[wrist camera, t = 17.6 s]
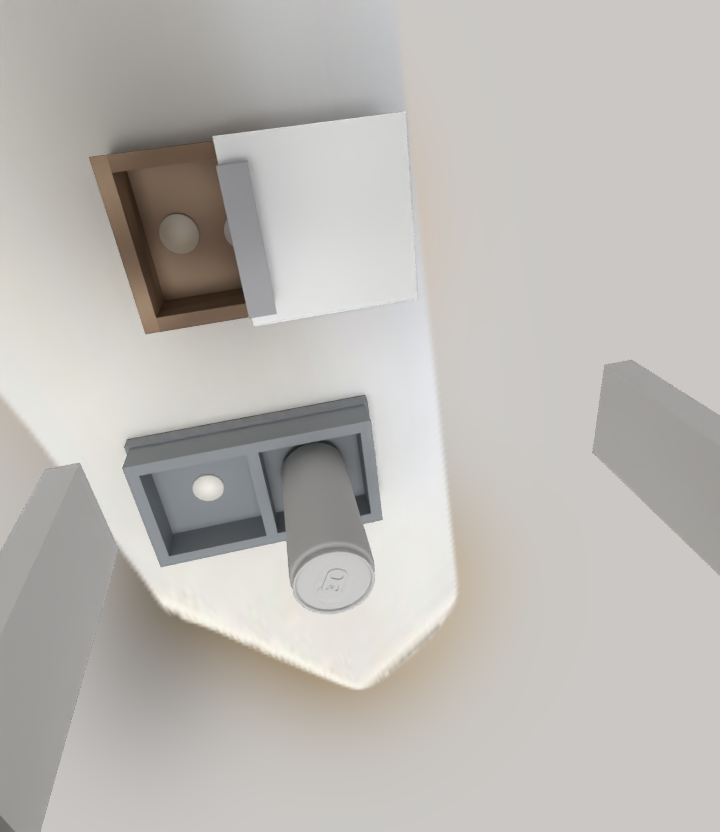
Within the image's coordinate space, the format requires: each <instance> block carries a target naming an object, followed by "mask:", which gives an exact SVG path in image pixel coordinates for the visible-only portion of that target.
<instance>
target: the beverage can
mask: <svg viewBox="0 0 720 832" xmlns="http://www.w3.org/2000/svg"><path fill="white" fill-rule="evenodd" d="M281 477H282V490H283V503H284V516H285V529H286V542H287V554H288V567H289V578H290V584H291V587H292V589H293V593H294V596H295V598H296V599H297V601H298V602H299V603H300V604H301V605H302V606H303V607H304V608H306V609H308V610H310V611H312V612H316V613H320V614H336V613H341V612H345V611H347V610H350V609H353V608H354V607H356V606H357V605H359V604H361V603H362V602H363V601H364V600H365V599H366V598H367V597H368V596H369V594H370V592H371V591H372V589H373V586H374V582H375V575H374V572H375V570H374V560H373V557H372V553H371V550H370V546H369V543H368V539H367V536H366V533H365V529H364V526H363V523H362V520H361V516H360V513H359V510H358V507H357V503H356V500H355V496H354V493H353V489H352V486H351V482H350V478H349V475H348V471H347V467H346V464H345V461H344V458H343V456H342V454H341V453H340V452H339V451H338V450H337V449H336V448H334V447H333V446H331V445H328V444H325V443H316V442H315V443H309V444H306V445H303V446H301V447H299V448H297V449H296V450H294V451H293V452H292V453H291V454H290V455H289V456H288V457H287V458H286V460H285V462H284V463H283V465H282V470H281Z"/></svg>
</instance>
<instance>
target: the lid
mask: <svg viewBox="0 0 720 832" xmlns="http://www.w3.org/2000/svg"><path fill="white" fill-rule="evenodd" d="M212 137H213V142H214V146H215V151H216V156H217V160H218V165H217V166H216V169H217V174H218V178H219V183H220V187H221V192H222V196H223V201H224V206H225V210H226V215H227V219H228V224H229V228H230V233H231V237H232V242H233V247H234V251H235V256H236V260H237V265H238V269H239V274H240V278H241V283H242V288H243V292H244V297H245V301H246V306H247V310H248V315H249V319H250V318H252V321H253V326H254V327H255V326H261V325H267V324H273V323H279V322H285V321H291V320H296V319H302V318H308V317H314V316H320V315H326V314H332V313H338V312H344V311H350V310H356V309H362V308H368V307H374V306H380V305H385V304H391V303H397V302H403V301H409V300H415V299H418V293H417V277H416V261H415V246H414V230H413V214H412V199H411V183H410V167H409V152H408V136H407V120H406V111H404V112H396V113H388V114H381V115H373V116H365V117H357V118H349V119H342V120H334V121H326V122H318V123H311V124H303V125H295V126H287V127H279V128H272V129H264V130H256V131H248V132H240V133H233V134H225V135H217V136H212Z"/></svg>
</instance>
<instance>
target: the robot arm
mask: <svg viewBox="0 0 720 832" xmlns="http://www.w3.org/2000/svg"><path fill="white" fill-rule="evenodd" d="M593 454H595V456H597V457H598V458H599V459H600V460H601V461H602V462H603V463H604V464H605V465H606V466H607V467H608V468H609V469H610V470H611V471H612V472H613V473H614V474H615V475H616V476H617V477H618V478H619V479H620V480H621V481H623V483H624V484H625V485H627V486H628V487H629V488H630V489H631V490H632V491H633V492H634V493H635V494H636V495H637V496H638V497H639V498H640V499H641V500H642V501H643V502H644V503H645V504H646V505H647V506H648V507H649V508H650V509H651V510H652V511H653V512H654V513H655V514H657V515H658V516H659V517H660V518H661V519H662V520H663V521H664V522H665V523H666V524H667V525H668V526H669V527H670V528H671V529H672V530H673V531H674V532H675V533H676V534H678V536H679V537H680V538H681V539H682V540H683V541H684V542H686V544H688V545H689V546H690V547H691V548H692V549H693V550H694V551H695V552H696V553H697V554H698V555H699V556H700V557H701V558H702V559H703V560H704V561H705V562H706V563H707V564H708V565H709V566H710V567H711V568H712V569H713V570H714V571H716V573H717V574H719V575H720V415H718V414H717V413H715V412H713V411H712V410H710V409H709V408H707V407H706V406H704V405H703V404H701V403H699V402H698V401H696V400H695V399H693V398H691V397H690V396H688V395H687V394H685V393H683V392H682V391H680V390H679V389H677V388H675V387H674V386H672V385H671V384H669V383H667V382H666V381H664V380H663V379H661V378H660V377H658V376H657V375H655V374H653V373H652V372H650V371H649V370H647V369H646V368H644V367H642V366H641V365H639V364H637V363H636V362H634V361H633V360H628V361H622V362H617V363H612V364H606V365H605V366H604V372H603V379H602V387H601V394H600V401H599V409H598V415H597V423H596V430H595V438H594V444H593ZM118 552H119V549H118V547H117V545H116V542H115V540H114V538H113V536H112V533H111V531H110V529H109V527H108V524H107V522H106V520H105V518H104V516H103V513H102V511H101V509H100V507H99V504H98V502H97V500H96V498H95V495H94V493H93V491H92V489H91V487H90V484H89V482H88V480H87V478H86V475H85V473H84V471H83V469H82V467H81V464H80V463H76V464H71V465H65V466H60V467H55V468H49V469H45V471H44V473H43V474H42V476H41V478H40V480H39V482H38V484H37V485H36V487H35V489H34V491H33V493H32V495H31V496H30V498H29V500H28V502H27V504H26V506H25V508H24V509H23V511H22V513H21V515H20V516H19V518H18V520H17V522H16V524H15V526H14V527H13V529H12V531H11V533H10V535H9V536H8V538H7V540H6V542H5V544H4V546H3V547H2V549H1V551H0V832H40V831H41V827H42V824H43V820H44V817H45V813H46V809H47V806H48V802H49V799H50V795H51V792H52V788H53V784H54V780H55V777H56V774H57V770H58V766H59V763H60V759H61V756H62V752H63V748H64V745H65V741H66V738H67V734H68V731H69V727H70V723H71V720H72V716H73V713H74V709H75V705H76V702H77V698H78V695H79V691H80V688H81V684H82V680H83V677H84V673H85V670H86V666H87V662H88V659H89V655H90V652H91V648H92V645H93V641H94V638H95V634H96V630H97V626H98V623H99V619H100V616H101V612H102V609H103V605H104V602H105V598H106V595H107V590H108V587H109V584H110V580H111V577H112V573H113V569H114V566H115V562H116V559H117V555H118Z"/></svg>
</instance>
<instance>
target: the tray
mask: <svg viewBox="0 0 720 832" xmlns="http://www.w3.org/2000/svg"><path fill="white" fill-rule="evenodd" d="M89 158H90V162H91V165H92V168H93V171H94V174H95V177H96V180H97V184H98V187H99V190H100V193H101V196H102V199H103V202H104V205H105V209H106V212H107V215H108V218H109V221H110V224H111V227H112V231H113V234H114V237H115V240H116V243H117V246H118V249H119V252H120V256H121V259H122V262H123V265H124V268H125V271H126V274H127V278H128V281H129V284H130V287H131V290H132V293H133V296H134V299H135V303H136V306H137V309H138V312H139V315H140V318H141V321H142V325H143V328H144V331H145V334H150V333H156V332H162V331H168V330H174V329H180V328H186V327H192V326H198V325H204V324H210V323H216V322H222V321H228V320H234V319H240V318H246V317H249V315H248V310H247V306H246V301H245V297H244V292H243V288H242V283H241V278H240V274H239V269H238V265H237V260H236V256H235V251H234V247H233V242H232V237H231V233H230V228H229V224H228V219H227V215H226V210H225V206H224V201H223V196H222V192H221V187H220V183H219V178H218V174H217V169H216V166H217V165H218V160H217V156H216V151H215V146H214V142H213V141H209V142H201V143H193V144H186V145H178V146H170V147H162V148H155V149H147V150H139V151H131V152H124V153H116V154H108V155H101V156H93V157H89Z"/></svg>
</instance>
